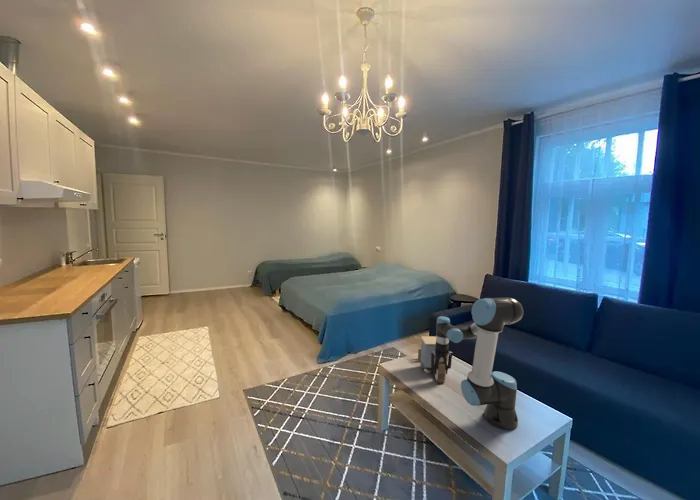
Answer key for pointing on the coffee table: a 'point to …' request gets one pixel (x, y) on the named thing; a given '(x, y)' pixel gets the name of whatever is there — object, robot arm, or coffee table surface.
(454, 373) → the coffee table surface
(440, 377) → the wooden block
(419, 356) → the stand
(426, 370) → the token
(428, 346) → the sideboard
